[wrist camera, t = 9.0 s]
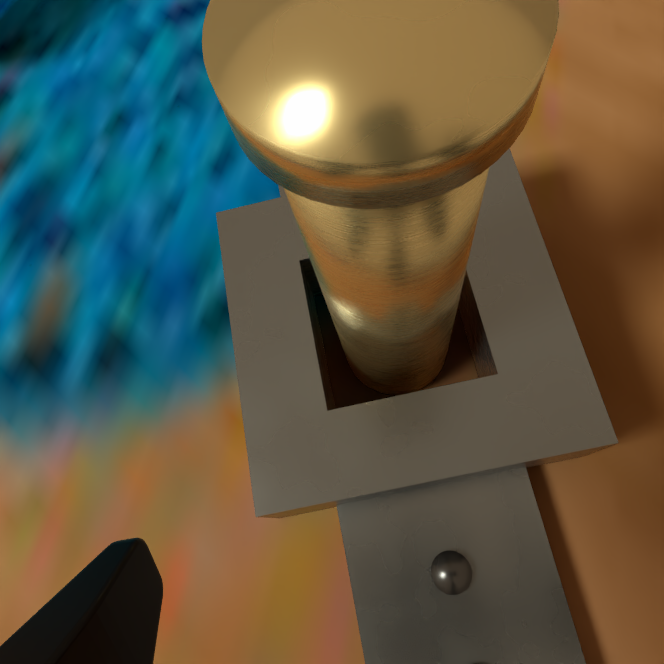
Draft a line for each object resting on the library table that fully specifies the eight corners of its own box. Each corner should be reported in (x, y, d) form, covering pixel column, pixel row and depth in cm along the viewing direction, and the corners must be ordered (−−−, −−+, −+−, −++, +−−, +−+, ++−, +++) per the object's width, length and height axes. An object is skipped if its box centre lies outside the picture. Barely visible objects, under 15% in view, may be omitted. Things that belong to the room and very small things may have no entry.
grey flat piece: (687, 755, 15) (754, 810, 12) (322, 817, 15) (303, 883, 12) (440, 40, 24) (445, -25, 21) (218, 96, 24) (193, 40, 21)
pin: (485, 355, 19) (642, 14, 6) (384, 432, 18) (332, 231, 6) (406, 265, 20) (403, -155, 8) (310, 335, 20) (143, 9, 7)
